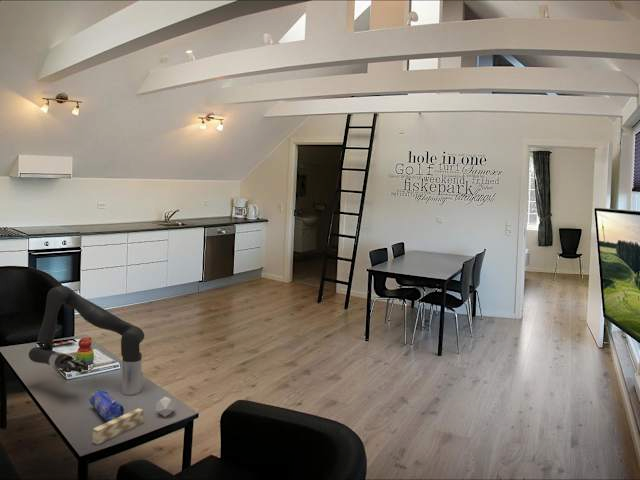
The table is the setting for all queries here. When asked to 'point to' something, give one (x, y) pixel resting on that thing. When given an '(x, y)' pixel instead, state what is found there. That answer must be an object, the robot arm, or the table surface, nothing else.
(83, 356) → the stacking bear
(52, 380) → the table surface
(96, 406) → the pencil case
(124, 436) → the table surface
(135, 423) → the birch board
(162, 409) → the die
